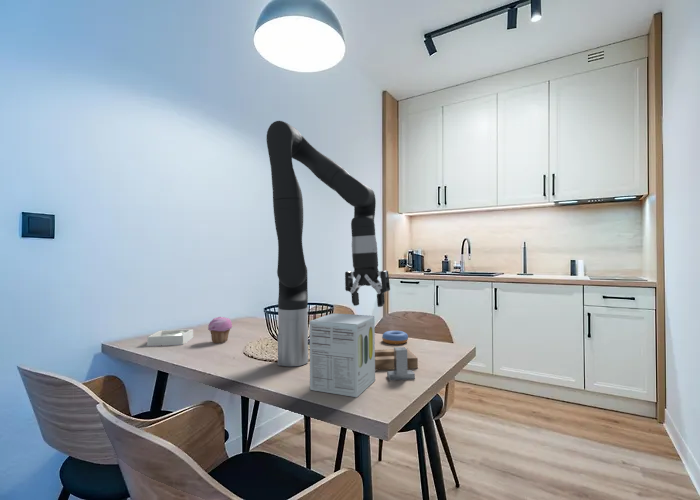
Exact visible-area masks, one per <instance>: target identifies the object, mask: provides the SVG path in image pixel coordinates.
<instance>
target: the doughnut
mask: <svg viewBox="0 0 700 500" xmlns="http://www.w3.org/2000/svg"><path fill="white" fill-rule="evenodd" d="M381 339H382V342H383V343H385V344H388V345H403V344H406V343H407V342H408V340H409V335H408V333H406V332H404V331H402V330H387V331H384V333H382V335H381Z"/></svg>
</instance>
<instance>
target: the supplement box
mask: <svg viewBox="0 0 700 500" xmlns="http://www.w3.org/2000/svg"><path fill="white" fill-rule="evenodd" d="M375 324H376V323H375V315H370V314H369V315H367V314H366V315H365V314H354V313H353V314H352V313H351V314H350V313H334V312H333V313H332V312H331V313H330V314H326V315H323V316H320V317H318V318H314V319H312V320H309V390H310V391H316V392H321V393H328V394H332V395H333V394H334V395H339V396H340V395H341V396H347V397H352V398H358V397H359V396H360V395H361V394H362V393H363V392H364V391H366V389H367V388H369V387H370V386H371V385H372V384H373V383H374V382H375V381H376V370H375V350H376V345H375V344H376V342H375V341H376V340H375V338H376V337H375V335H376V334H375V329H376V328H375V327H376V326H375Z"/></svg>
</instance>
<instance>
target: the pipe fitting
mask: <svg viewBox="0 0 700 500" xmlns="http://www.w3.org/2000/svg"><path fill="white" fill-rule="evenodd" d="M184 333H185V332H183V331H180V332H178V333H173V334H165V335H162V336H171V335H182V334H184Z"/></svg>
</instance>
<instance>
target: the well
mask: <svg viewBox="0 0 700 500" xmlns="http://www.w3.org/2000/svg"><path fill="white" fill-rule="evenodd" d="M406 349H407V369H409V370H410V369H418V366H419V365H418V364H419V363H418V357H417V356H416V354H414V352H412V351H411V350H410V349H409V348H406ZM384 370H385V371H386V370H394V348H389V349H388V348H387V349H375V371H384Z"/></svg>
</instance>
